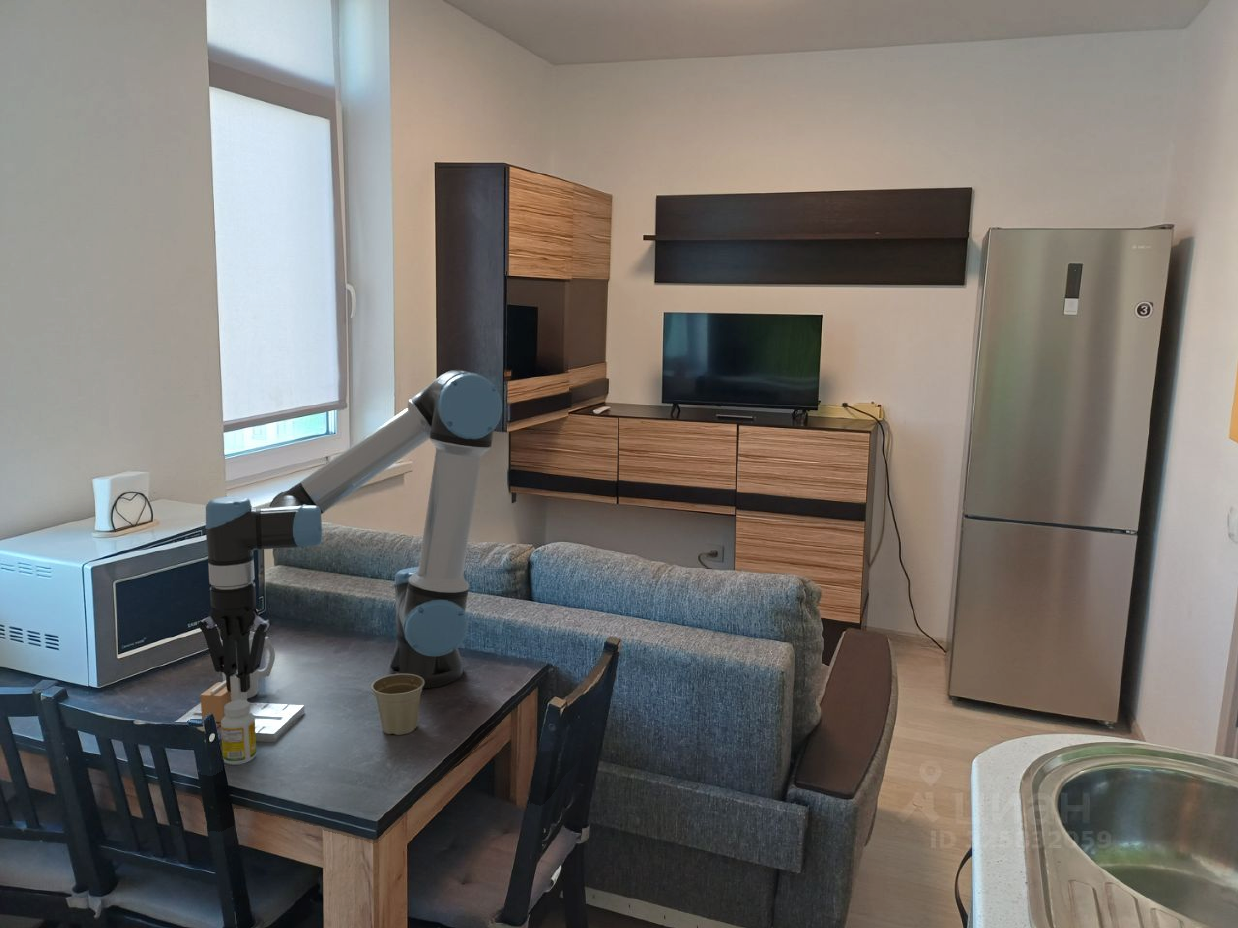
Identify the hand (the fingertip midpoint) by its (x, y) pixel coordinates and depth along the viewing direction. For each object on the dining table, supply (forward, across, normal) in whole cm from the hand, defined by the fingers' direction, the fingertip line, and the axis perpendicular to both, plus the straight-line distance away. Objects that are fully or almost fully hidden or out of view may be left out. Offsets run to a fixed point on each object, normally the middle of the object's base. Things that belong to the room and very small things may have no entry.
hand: (239, 707), depth 167 cm
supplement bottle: (+4, -6, +12) cm, 14 cm away
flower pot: (+4, -29, -2) cm, 30 cm away
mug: (+4, +6, -14) cm, 16 cm away
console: (+3, +1, 0) cm, 3 cm away
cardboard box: (+2, +4, 0) cm, 4 cm away
